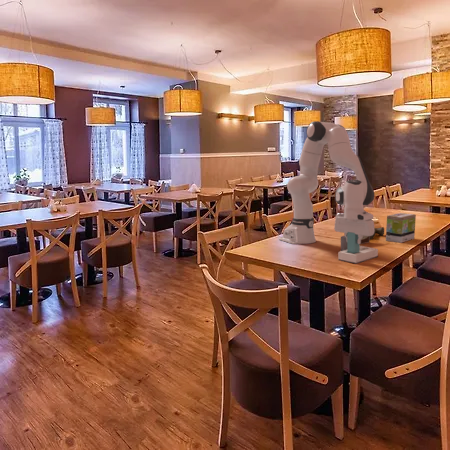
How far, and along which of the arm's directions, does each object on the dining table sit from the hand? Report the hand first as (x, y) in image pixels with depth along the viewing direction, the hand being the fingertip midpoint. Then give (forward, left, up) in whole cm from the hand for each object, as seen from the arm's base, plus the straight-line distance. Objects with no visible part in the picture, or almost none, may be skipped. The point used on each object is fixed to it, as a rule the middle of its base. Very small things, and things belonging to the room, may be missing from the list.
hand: (353, 242), depth 200 cm
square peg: (0, 0, -5) cm, 5 cm away
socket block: (0, +4, -9) cm, 10 cm away
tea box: (-7, +55, -9) cm, 56 cm away
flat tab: (-11, +9, -9) cm, 17 cm away
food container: (-20, +34, -9) cm, 41 cm away
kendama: (-24, +54, -9) cm, 60 cm away
